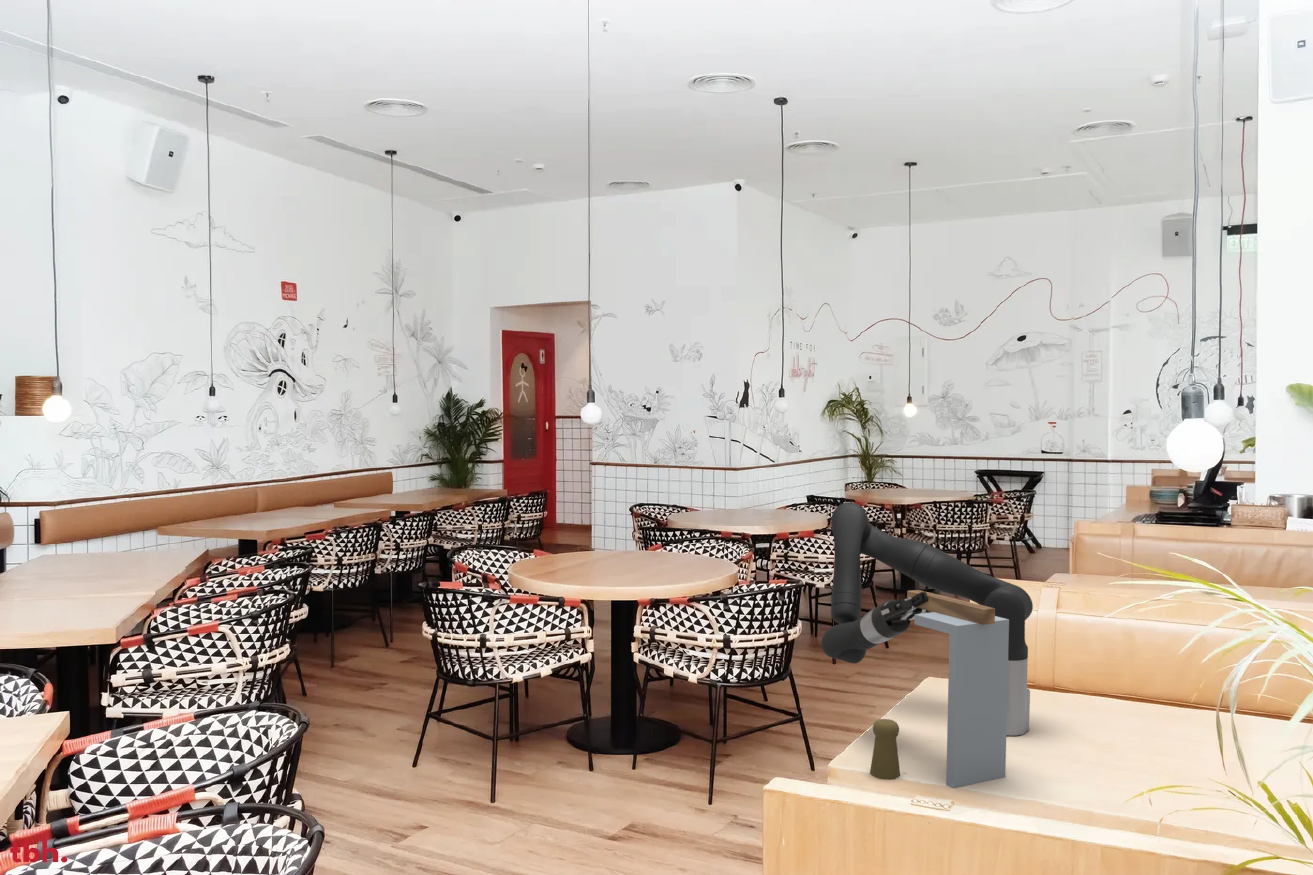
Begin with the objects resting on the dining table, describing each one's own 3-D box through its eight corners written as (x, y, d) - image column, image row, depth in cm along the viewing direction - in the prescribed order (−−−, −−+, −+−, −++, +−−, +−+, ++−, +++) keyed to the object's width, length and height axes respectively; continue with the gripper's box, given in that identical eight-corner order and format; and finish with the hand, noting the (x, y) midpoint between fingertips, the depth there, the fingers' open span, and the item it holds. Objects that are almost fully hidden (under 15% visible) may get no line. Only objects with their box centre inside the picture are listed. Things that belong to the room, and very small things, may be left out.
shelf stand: (962, 758, 222) (965, 608, 221) (1005, 776, 212) (1009, 619, 211) (911, 768, 216) (914, 614, 215) (953, 788, 205) (957, 625, 204)
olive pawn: (900, 780, 209) (901, 726, 209) (869, 778, 210) (870, 723, 210) (899, 770, 215) (900, 717, 214) (869, 767, 216) (870, 715, 216)
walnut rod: (917, 603, 226) (918, 589, 226) (994, 623, 207) (995, 608, 207) (907, 604, 225) (907, 590, 225) (983, 624, 205) (983, 609, 205)
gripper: (854, 609, 232) (901, 580, 218) (903, 603, 238) (951, 576, 225) (864, 641, 229) (912, 615, 215) (914, 635, 235) (963, 609, 222)
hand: (932, 595), depth 220 cm, fingers closed on walnut rod, 3 cm apart
